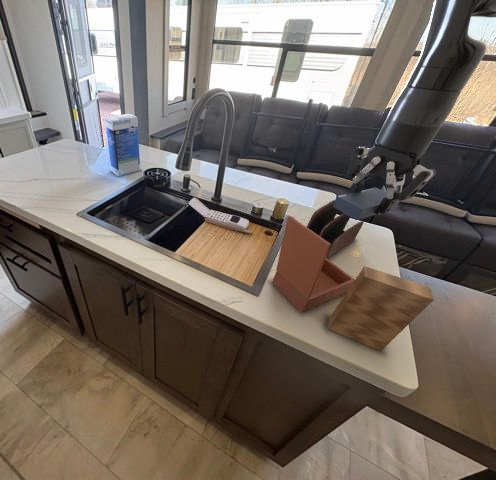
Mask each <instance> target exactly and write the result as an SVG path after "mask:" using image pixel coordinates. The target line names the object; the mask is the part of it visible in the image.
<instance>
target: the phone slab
mask: <svg viewBox="0 0 496 480" xmlns="http://www.w3.org/2000/svg"><path fill="white" fill-rule="evenodd" d="M384 197H386V191H385V190H383V189H380V188H378V187H371V188H368V189H364V190H363V189H362V190H361V191H359V192H355V193H350V194H348V193H347V194H342V195H338V196H337V198H335V199H336V201H335V203H334V205H333V207H334V208H336V209H337V210H339V211H338V212H341V213H342V214H343V213H344V214H346V215H348V216H350V219H353V220H355V221H358V220H362V219H367V218H369V217H373V216H376V215H377V214H375V211H376V210H377V208H378V206H379V204H380V203H381V201H382V200H383V198H384ZM400 202H401V201H400V200H396V202H395V203H394V205H393V206H392V208H391V209H390V211H393V210H396V208H397V206H398V205H399V204H400ZM377 216H378V215H377Z"/></svg>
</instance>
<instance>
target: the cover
mask: <svg viewBox="0 0 496 480" xmlns="http://www.w3.org/2000/svg"><path fill="white" fill-rule="evenodd" d="M330 246H331V244H330V243H329V242H327V241H326V240H324V239H323V238H322V237H320V236H319V235H317V234H316V233H314V232H313V231H311V230H310V229H309V228H307V225H304V224H303V223H301V222H300V221H299V220H297V219H295V217H293V216H291V215H288V216H287V218H286V223H285V227H284V232H283V236H282V240H281V246H280V250H279V255H278V260H277V264H276V269H275V271H278V272H279V273H280V274H281V275H282V276H283V277H284V278H285V279H286V280H287V281H288V282H289V283H290V284H291V285H292V286H293V287H294V288H296V289H297V290H298V291H299V292H300V293H301V294H302V295H303V296H304V297H305V298H306V299H307V300H309V299H310V296H311V294H312V291H313V289H314V286H315V284H316V281H317V279H318V276H319V274H320V271H321V269H322V266H323V263H324V261H325V258H326V256H327V253H328V251H329V248H330Z"/></svg>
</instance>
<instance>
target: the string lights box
mask: <svg viewBox="0 0 496 480" xmlns="http://www.w3.org/2000/svg"><path fill="white" fill-rule="evenodd" d="M138 121H139V120H138V116H137V115H134V114H132V113H124V114H123V113H122V114H117V115H110V116H104V124H105V131H106V139H107V140H106V141H107V147H108V155H109V164H110V171H111V173H113V174H115V175H116V177H121V176H125V175H128V174H133V173H135V172H136V173H137V172H139V171H141V160H140V158H141V157H140V140H139V138H140V137H139V122H138Z"/></svg>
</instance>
